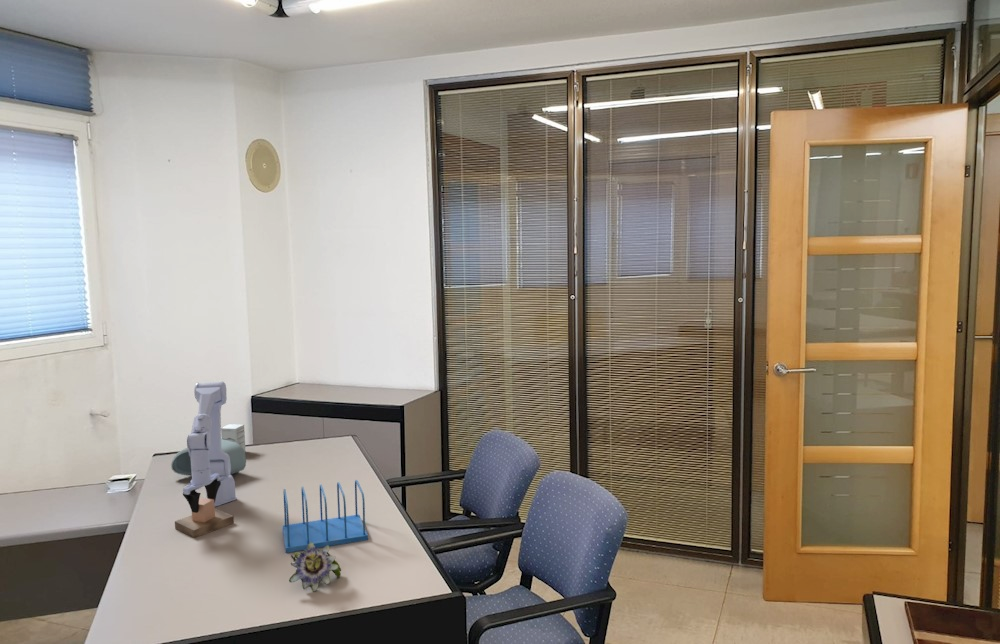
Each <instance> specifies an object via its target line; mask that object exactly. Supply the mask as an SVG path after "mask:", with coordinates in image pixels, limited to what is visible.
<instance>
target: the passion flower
mask: <svg viewBox="0 0 1000 644" xmlns="http://www.w3.org/2000/svg"><path fill="white" fill-rule="evenodd" d="M329 550H330V546H325V547H321V549H317V548H316V547H315V546H314V544H313V543H311V542H310V543H309V545H308V547H307V549H306V550H303V552H299V551H295V552H294V556H293V554H291V555H290V558H291V559H292V560H293V561H292V562H291V563H290V565H291V566H292V567H294V568H295V572H294V573H293V574H292V575H291V576H290V577H289V579H288V581H289V582H290V583H295V582H297V581H299V580H301V584H302V585H301V586H302V588H303V590H306V589H307V588H309V587H310V588H311V591H312V592H313V593H315V592H316V591H317V590H318V587H319V584H320V582H322V583H323V584H326V585H329V584H330V572H332V573H333V574H334V575H335V577H336V578H337V579H339V578H340V577H341V575H342V572H341V571H342V568H341V567H340V563H338V561H337V560H336V555H333V554H330V552H329Z"/></svg>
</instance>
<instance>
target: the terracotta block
mask: <svg viewBox="0 0 1000 644" xmlns="http://www.w3.org/2000/svg"><path fill="white" fill-rule="evenodd" d="M215 508H216V507H215V506H214V499H208V498H207V497H200V498H199V511H198V512H197V513H195V512H192V511H191V516H192V521H198V522H206V521H208V520H210V519H212V518H213V517H215Z"/></svg>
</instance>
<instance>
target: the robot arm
mask: <svg viewBox="0 0 1000 644" xmlns="http://www.w3.org/2000/svg"><path fill="white" fill-rule="evenodd" d="M193 392H194V398H195V400H196V402H197V403H198V415H195V417H194V418H193V422H192V427H191V432H190V434H188V435H187V436H186V437H187V438H186V446H187V448H188V452H189V456H190V458H191V471H192V476H191V480H190V482H189V483H188V484H187V485H185V487H184V488H182V496H183V497H184V498H185V499H186V501H187V503H188V505H189V507H190V510H191V513H192V512H195V513H197V512H198V511H199V499H200V498H201V492H197V490H199V489H201V488H203V487H204V488H205V493H206V494H205V495H206V497H205V498H208V499H214V506H215V508H216V507H218V506H221V505H223V504H227V503H229V502H233V501H236V500H237V499H238V498H237V497H236V496H237V495H236V483H235V482H236V481H235V479H234V477H233V475H232V474H230V472H231V463H230V457H229V455H228V454H227V453H225V452H223V451H222V450H221V439H222V437H221V428H222V421H221V420H222V417H221V411H222V407H223V405H225V404H226V403H227V385H226V383H225V381H218V382H213V381H212V382H196V384H194V391H193ZM213 459H223V460H213ZM210 460H212V461H210Z"/></svg>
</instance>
